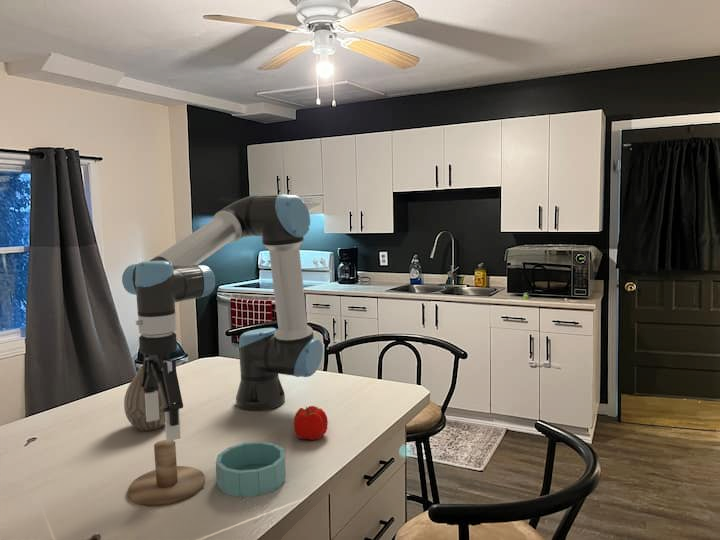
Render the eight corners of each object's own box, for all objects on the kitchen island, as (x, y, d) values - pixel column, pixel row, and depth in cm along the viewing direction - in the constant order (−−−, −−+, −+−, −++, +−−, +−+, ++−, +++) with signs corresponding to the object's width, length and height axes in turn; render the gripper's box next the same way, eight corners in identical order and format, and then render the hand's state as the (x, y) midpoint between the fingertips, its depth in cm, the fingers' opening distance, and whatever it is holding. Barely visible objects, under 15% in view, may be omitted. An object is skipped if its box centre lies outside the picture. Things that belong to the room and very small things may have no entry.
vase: (117, 427, 158) (113, 367, 156) (161, 414, 167) (157, 357, 165) (139, 440, 149) (134, 376, 147) (183, 425, 158) (180, 365, 156)
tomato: (312, 427, 155) (312, 401, 154) (334, 436, 149) (333, 409, 148) (285, 437, 149) (284, 410, 148) (306, 447, 143) (306, 419, 142)
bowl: (207, 478, 127) (205, 454, 126) (266, 459, 136) (265, 436, 135) (235, 506, 115) (234, 479, 114) (298, 483, 124) (297, 458, 124)
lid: (119, 483, 125) (116, 441, 123) (189, 462, 134) (187, 423, 133) (140, 514, 112) (137, 468, 111) (216, 488, 122) (214, 446, 120)
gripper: (123, 326, 127) (128, 417, 129) (158, 347, 107) (164, 453, 109) (156, 322, 131) (161, 409, 133) (196, 341, 111) (201, 443, 114)
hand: (162, 429), depth 121 cm, fingers open, 13 cm apart
